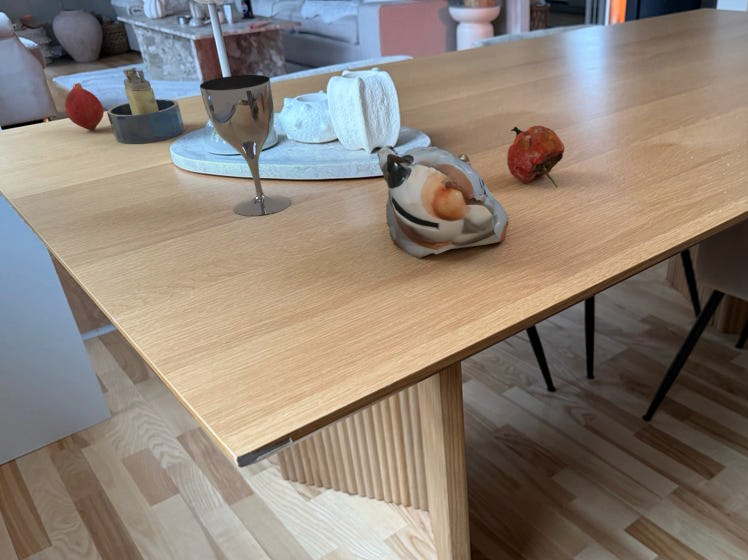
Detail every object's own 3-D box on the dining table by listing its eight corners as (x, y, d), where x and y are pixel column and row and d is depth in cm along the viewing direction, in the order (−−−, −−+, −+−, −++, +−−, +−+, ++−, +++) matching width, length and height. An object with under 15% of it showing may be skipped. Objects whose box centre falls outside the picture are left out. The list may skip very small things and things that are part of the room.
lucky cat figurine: (532, 229, 79) (534, 139, 67) (468, 304, 75) (458, 223, 63) (429, 173, 84) (413, 78, 71) (364, 240, 80) (335, 152, 67)
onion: (83, 137, 120) (66, 88, 116) (67, 132, 123) (50, 84, 119) (115, 128, 124) (100, 81, 120) (99, 124, 127) (83, 78, 123)
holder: (114, 147, 114) (105, 119, 112) (117, 130, 123) (109, 104, 121) (186, 137, 117) (178, 110, 115) (184, 121, 126) (177, 96, 124)
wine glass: (228, 200, 92) (198, 79, 83) (289, 190, 94) (266, 72, 85) (232, 221, 85) (200, 93, 77) (298, 210, 87) (273, 84, 79)
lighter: (134, 128, 121) (115, 67, 116) (156, 124, 123) (138, 63, 118) (147, 136, 117) (128, 73, 111) (170, 132, 118) (152, 69, 113)
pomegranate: (570, 193, 95) (534, 136, 97) (588, 161, 88) (549, 99, 90) (524, 211, 92) (489, 151, 94) (539, 179, 85) (500, 115, 88)
